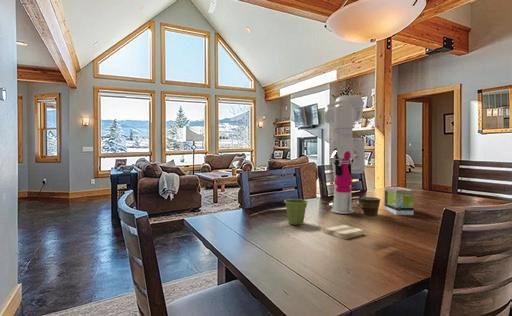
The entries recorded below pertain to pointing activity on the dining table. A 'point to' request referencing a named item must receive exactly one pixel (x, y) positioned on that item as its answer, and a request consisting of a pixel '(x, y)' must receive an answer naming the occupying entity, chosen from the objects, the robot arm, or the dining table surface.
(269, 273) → the dining table surface
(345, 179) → the pepper mill
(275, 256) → the dining table surface
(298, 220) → the plant pot
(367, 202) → the ceramic cup
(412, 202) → the tea box
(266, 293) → the dining table surface
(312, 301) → the dining table surface
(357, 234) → the maple base
